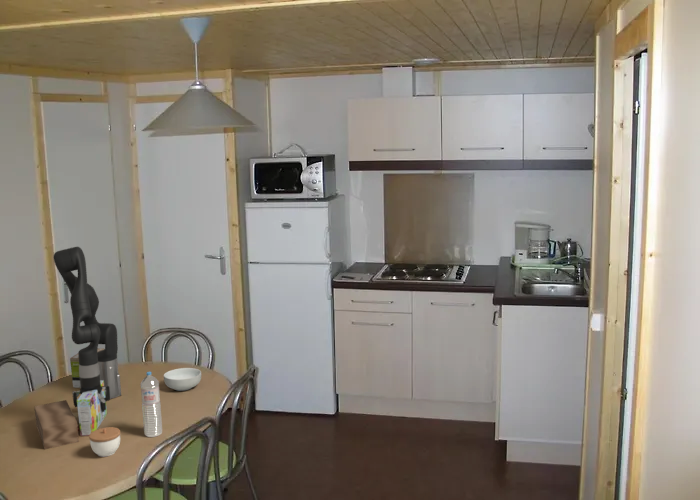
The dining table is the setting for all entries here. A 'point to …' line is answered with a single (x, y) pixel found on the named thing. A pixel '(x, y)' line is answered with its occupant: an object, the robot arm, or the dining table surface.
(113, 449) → the lidded jar
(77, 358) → the tea box
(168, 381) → the cereal bowl
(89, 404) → the snack box
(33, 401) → the dining table surface
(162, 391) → the dining table surface
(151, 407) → the water bottle
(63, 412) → the walnut stand
